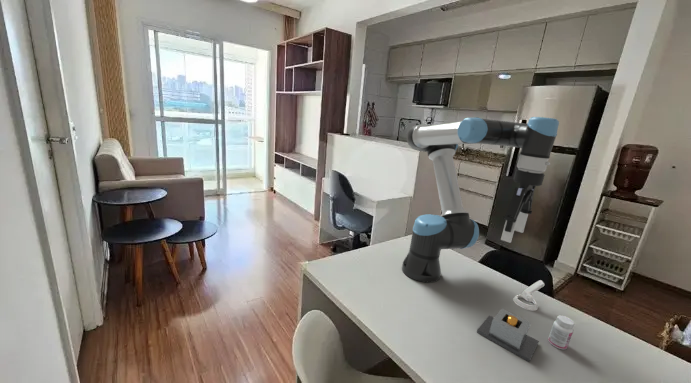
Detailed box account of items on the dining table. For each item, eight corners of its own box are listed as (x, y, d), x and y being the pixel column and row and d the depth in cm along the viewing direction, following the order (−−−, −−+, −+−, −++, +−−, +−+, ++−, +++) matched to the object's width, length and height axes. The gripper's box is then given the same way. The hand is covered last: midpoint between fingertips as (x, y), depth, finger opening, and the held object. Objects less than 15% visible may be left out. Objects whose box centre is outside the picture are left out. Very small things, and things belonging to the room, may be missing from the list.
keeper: (476, 332, 88) (482, 312, 86) (488, 318, 95) (493, 299, 93) (529, 362, 78) (536, 340, 77) (537, 343, 86) (544, 323, 84)
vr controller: (561, 300, 100) (551, 291, 97) (530, 319, 104) (520, 311, 101) (546, 283, 106) (536, 275, 104) (518, 302, 110) (508, 294, 108)
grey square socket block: (488, 333, 86) (492, 319, 85) (497, 322, 92) (501, 308, 90) (518, 350, 81) (523, 335, 79) (526, 337, 86) (531, 322, 85)
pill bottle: (567, 352, 83) (577, 328, 81) (548, 344, 86) (556, 320, 83) (566, 342, 87) (575, 318, 85) (547, 335, 90) (555, 311, 87)
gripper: (534, 176, 76) (513, 250, 82) (553, 170, 94) (535, 231, 100) (504, 170, 81) (486, 240, 87) (527, 165, 99) (511, 224, 105)
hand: (512, 236), depth 93 cm, fingers open, 13 cm apart
